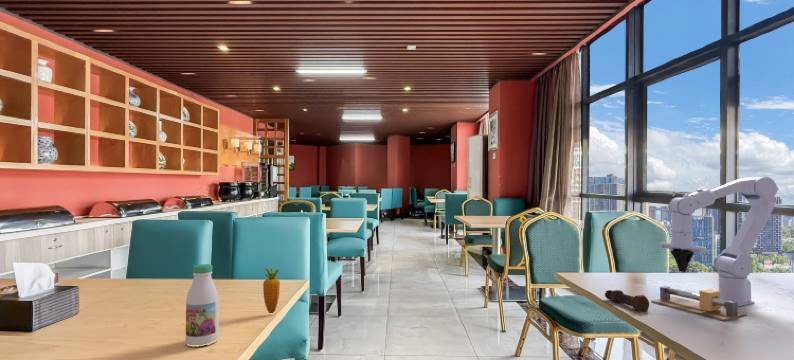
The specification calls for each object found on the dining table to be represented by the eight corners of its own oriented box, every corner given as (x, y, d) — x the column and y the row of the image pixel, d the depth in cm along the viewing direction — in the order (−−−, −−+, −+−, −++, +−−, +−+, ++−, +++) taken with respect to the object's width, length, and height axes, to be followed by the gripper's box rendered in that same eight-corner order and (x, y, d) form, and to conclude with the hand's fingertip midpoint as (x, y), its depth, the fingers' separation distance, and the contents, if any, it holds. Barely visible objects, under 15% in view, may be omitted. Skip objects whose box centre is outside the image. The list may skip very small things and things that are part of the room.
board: (651, 302, 141) (651, 300, 141) (673, 298, 146) (672, 296, 146) (724, 321, 121) (724, 318, 121) (746, 315, 127) (746, 313, 127)
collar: (699, 308, 130) (699, 290, 131) (710, 306, 133) (709, 288, 133) (710, 311, 128) (709, 293, 128) (720, 309, 130) (720, 291, 130)
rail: (660, 300, 143) (660, 286, 143) (665, 299, 144) (665, 285, 144) (732, 318, 124) (732, 302, 124) (737, 317, 125) (737, 301, 125)
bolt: (610, 304, 146) (645, 316, 131) (599, 298, 145) (633, 309, 130) (616, 289, 146) (651, 299, 132) (605, 283, 146) (640, 292, 131)
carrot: (283, 313, 130) (283, 266, 131) (272, 318, 126) (272, 269, 126) (270, 311, 132) (270, 265, 133) (259, 316, 128) (259, 268, 128)
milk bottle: (193, 337, 110) (193, 262, 110) (222, 336, 111) (222, 262, 111) (180, 348, 102) (180, 268, 103) (212, 347, 103) (212, 267, 103)
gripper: (654, 230, 148) (654, 268, 147) (697, 234, 134) (698, 276, 134) (666, 229, 151) (666, 266, 150) (710, 233, 137) (711, 274, 137)
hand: (682, 271), depth 143 cm, fingers closed
